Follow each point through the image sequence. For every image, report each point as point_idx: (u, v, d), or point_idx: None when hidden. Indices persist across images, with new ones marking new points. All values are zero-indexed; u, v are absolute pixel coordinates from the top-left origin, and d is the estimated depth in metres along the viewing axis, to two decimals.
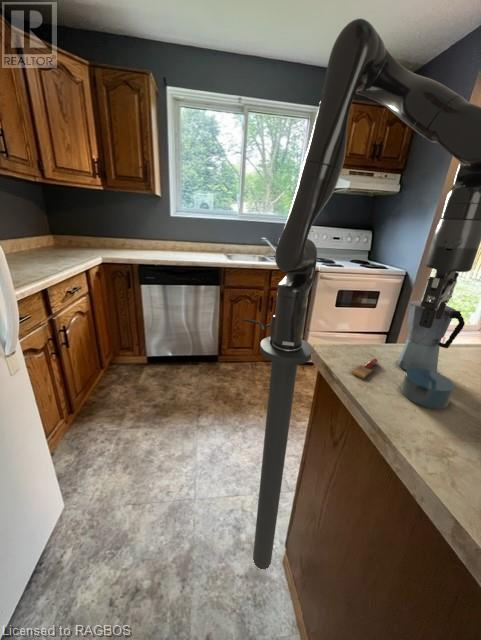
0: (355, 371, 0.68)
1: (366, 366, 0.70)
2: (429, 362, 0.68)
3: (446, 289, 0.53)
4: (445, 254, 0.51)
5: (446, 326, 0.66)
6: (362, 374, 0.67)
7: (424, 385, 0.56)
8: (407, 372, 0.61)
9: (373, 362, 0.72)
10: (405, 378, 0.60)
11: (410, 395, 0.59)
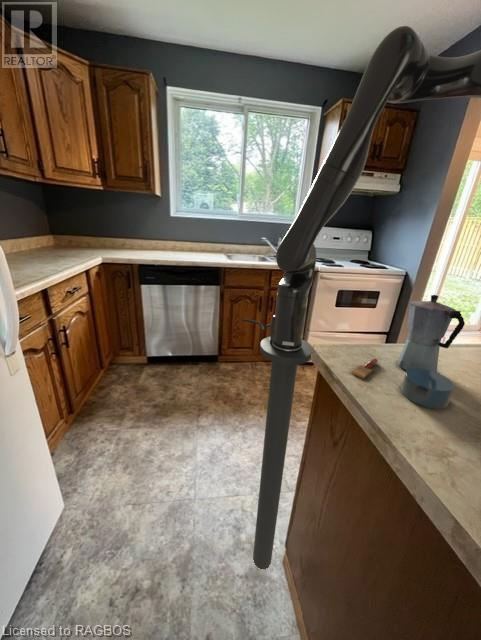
0: (355, 371, 0.68)
1: (366, 366, 0.70)
2: (429, 362, 0.68)
3: None
4: None
5: (446, 326, 0.66)
6: (362, 374, 0.67)
7: (424, 385, 0.56)
8: (407, 372, 0.61)
9: (373, 362, 0.72)
10: (405, 378, 0.60)
11: (410, 395, 0.59)
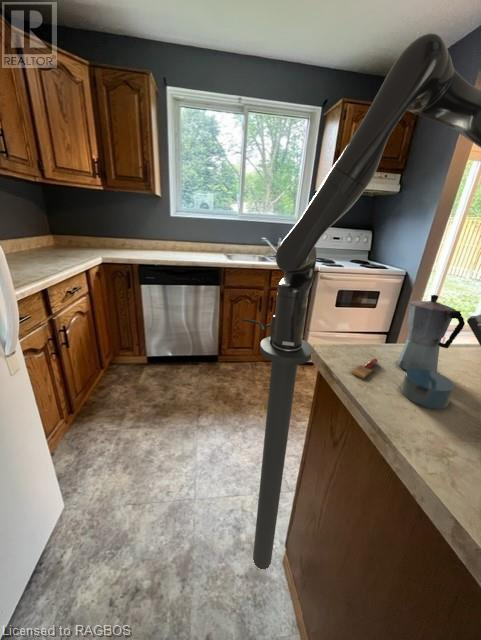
0: (355, 371, 0.68)
1: (366, 366, 0.70)
2: (429, 362, 0.68)
3: None
4: None
5: (446, 326, 0.66)
6: (362, 374, 0.67)
7: (424, 385, 0.56)
8: (407, 372, 0.61)
9: (373, 362, 0.72)
10: (405, 378, 0.60)
11: (410, 395, 0.59)
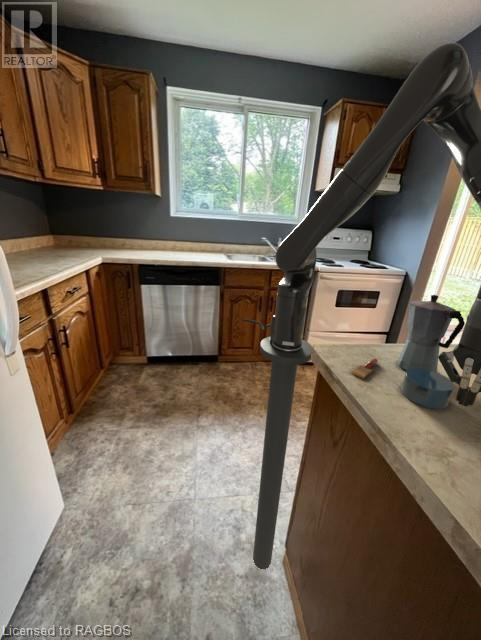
0: (355, 371, 0.68)
1: (366, 366, 0.70)
2: (429, 362, 0.68)
3: None
4: (464, 327, 0.53)
5: (446, 326, 0.66)
6: (362, 374, 0.67)
7: (424, 385, 0.56)
8: (407, 372, 0.61)
9: (373, 362, 0.72)
10: (405, 378, 0.60)
11: (410, 395, 0.59)
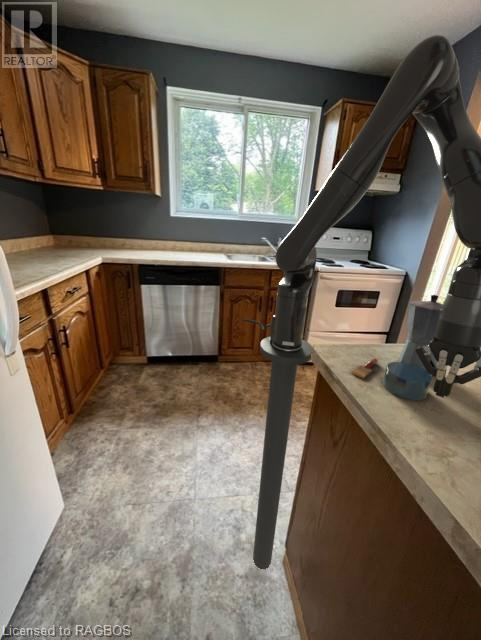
0: (355, 371, 0.68)
1: (366, 366, 0.70)
2: None
3: None
4: None
5: None
6: (362, 374, 0.67)
7: (403, 377, 0.59)
8: (388, 365, 0.64)
9: (373, 362, 0.72)
10: (386, 371, 0.63)
11: (390, 387, 0.61)
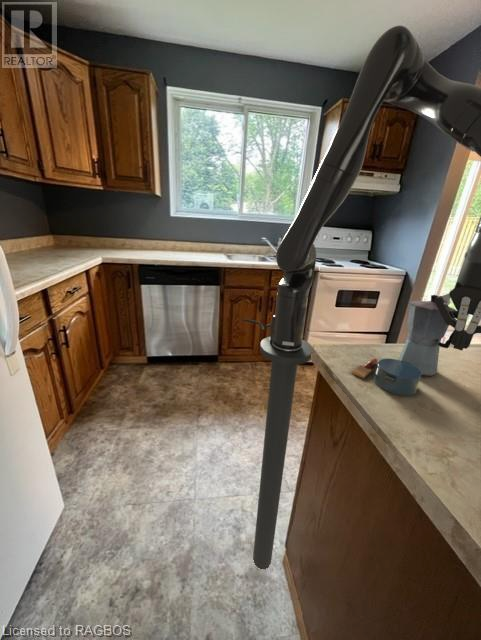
0: (355, 371, 0.68)
1: (366, 366, 0.70)
2: (429, 362, 0.68)
3: None
4: None
5: (446, 326, 0.66)
6: (362, 374, 0.67)
7: (393, 373, 0.60)
8: (379, 362, 0.65)
9: (373, 362, 0.72)
10: (377, 367, 0.64)
11: (381, 383, 0.63)
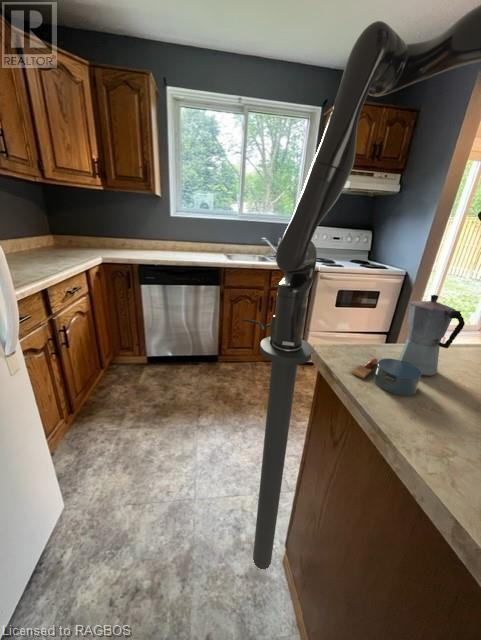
0: (355, 371, 0.68)
1: (366, 366, 0.70)
2: (429, 362, 0.68)
3: None
4: None
5: (446, 326, 0.66)
6: (362, 374, 0.67)
7: (393, 373, 0.60)
8: (379, 362, 0.65)
9: (373, 362, 0.72)
10: (377, 367, 0.64)
11: (381, 383, 0.63)
